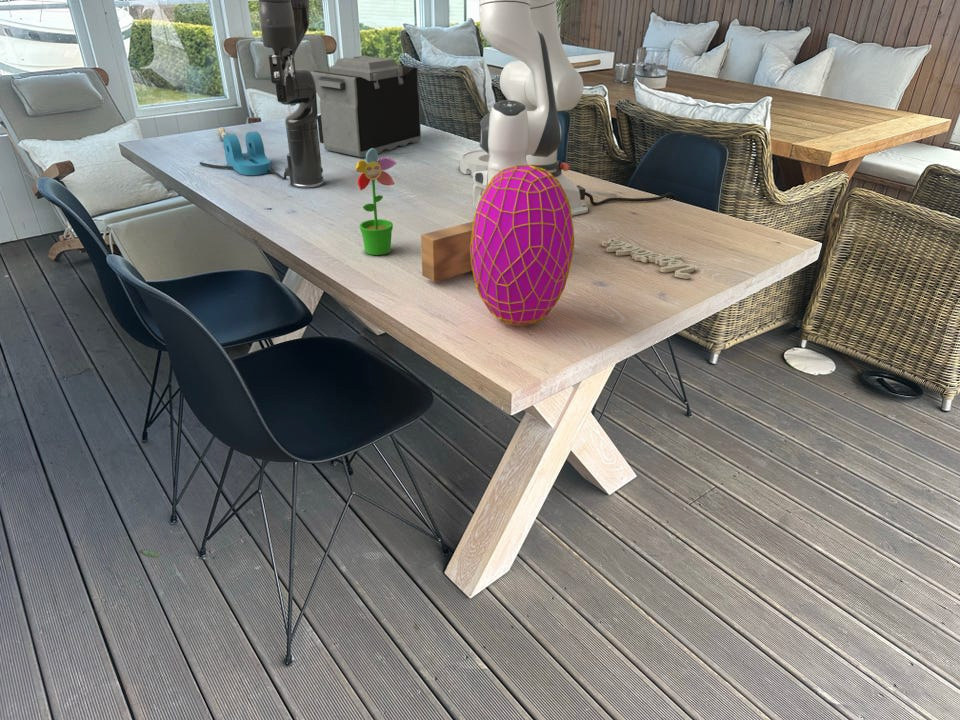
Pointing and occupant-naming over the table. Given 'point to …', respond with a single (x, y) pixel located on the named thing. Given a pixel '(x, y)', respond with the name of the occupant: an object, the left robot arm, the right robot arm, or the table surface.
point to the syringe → (222, 133)
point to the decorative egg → (522, 244)
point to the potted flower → (377, 229)
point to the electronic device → (368, 105)
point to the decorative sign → (651, 257)
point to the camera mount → (246, 154)
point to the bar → (446, 252)
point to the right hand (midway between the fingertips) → (505, 238)
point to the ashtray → (474, 161)
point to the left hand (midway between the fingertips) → (286, 98)
